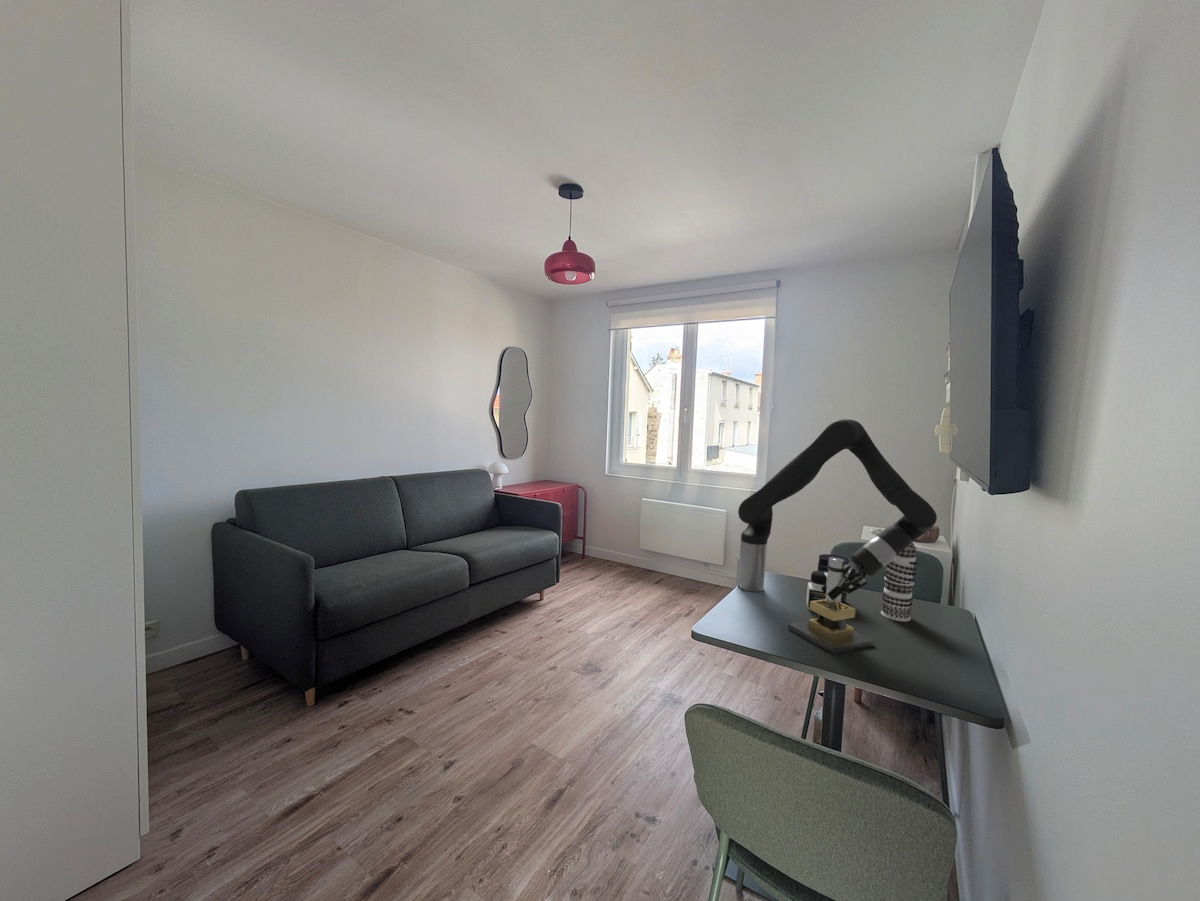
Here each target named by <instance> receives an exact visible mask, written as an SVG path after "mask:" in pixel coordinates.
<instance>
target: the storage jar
mask: <svg viewBox="0 0 1200 901" xmlns="http://www.w3.org/2000/svg"><path fill="white" fill-rule="evenodd" d="M830 557H835V558H840V559H843V560H844V564H845V565H847V564H848V563H850V559H849V558H846V557H844V556H841V555H835V554H825V553H824V554H819V556H818V563H817V571H823V572H826V573H828V564H829V558H830ZM845 584H846V583H845ZM847 595H848V593H847V592H845V593H844V592H843V593H842V594H841V603H843V604H845V605H847V604H846V603H847Z"/></svg>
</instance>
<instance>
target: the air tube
mask: <svg viewBox="0 0 1200 901" xmlns="http://www.w3.org/2000/svg"><path fill="white" fill-rule="evenodd" d="M843 572H844V560H843V559H840V558H835V557H830V558H829V564H828V576H827V587H826V599H825V607H827V608H829V609H831V610H840V605H841V594H840V595H839V596H838V597H837V598H835V599H834V600H832V599H831V598H830V597H829V596H828V595H827V593H828V592H830V591H831V590H832V589H833V588H835V587H836V586H838V584H839V583H840V582H841V581H842V578H843ZM823 625H824V626H826V627H828V628H830V629H838V620H837V621H832V620H830V619H828V618H826V617H824V622H823Z"/></svg>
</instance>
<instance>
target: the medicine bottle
mask: <svg viewBox="0 0 1200 901" xmlns="http://www.w3.org/2000/svg"><path fill="white" fill-rule="evenodd" d="M810 575H811V576H810V582H807V590H806V606H807V609H808V610H810V601H815V600H822V599H826V594H825V593H824V592H823V591H822V589H821V587H823V586H824V585H825V584H826V583H827V576H828V573H826V572H823V571H818V570H814V571H812V572H811V574H810ZM810 611H811V610H810Z"/></svg>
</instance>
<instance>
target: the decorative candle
mask: <svg viewBox="0 0 1200 901" xmlns="http://www.w3.org/2000/svg"><path fill="white" fill-rule="evenodd" d="M917 549H918V547H917V546H915V544H914V542H913V541H912V542H911V543H910V544H909V545H908V546H907V547H906V548H905V549H904V550H903V551H902V552H900V553H899V554H898V555H897V556H895V557H894V559H893V560H892V561H891V562H890V563H888V564H887V565H886V566H885V567H883V570H884V572H883V577H884V580H885V582H884V587H883V591H882V597H881V599H882V601H881V603H880V604H881V607H880V610H881V611H880V615H881V616H882V617H884V618H887V619H890V620H893V621H897V622H909V621H911V619H912V618H911V616H912V609H913V608H912V607H911V606H913V601H914V599H913V586H914V585H915V581H916V579H915V578H914V576H917V573H916V572H915V571H917V570H918V569H917V567H916V565H918V564H919V563H918V561H916V558H917V557H916V551H917Z"/></svg>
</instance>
